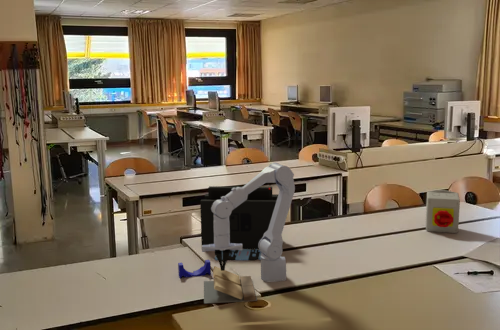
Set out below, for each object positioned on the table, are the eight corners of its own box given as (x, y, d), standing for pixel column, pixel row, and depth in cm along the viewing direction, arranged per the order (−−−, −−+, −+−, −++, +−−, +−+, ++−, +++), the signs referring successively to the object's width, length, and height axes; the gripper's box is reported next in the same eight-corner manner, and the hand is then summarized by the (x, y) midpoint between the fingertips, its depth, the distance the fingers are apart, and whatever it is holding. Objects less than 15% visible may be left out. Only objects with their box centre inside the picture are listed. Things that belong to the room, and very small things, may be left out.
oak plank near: (239, 289, 188) (241, 286, 188) (241, 299, 180) (243, 296, 180) (213, 279, 187) (215, 276, 187) (214, 289, 179) (215, 285, 178)
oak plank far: (237, 279, 199) (239, 275, 199) (239, 287, 190) (240, 284, 190) (212, 269, 197) (214, 266, 197) (213, 277, 189) (215, 274, 189)
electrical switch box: (425, 238, 257) (427, 199, 251) (425, 226, 270) (427, 189, 264) (458, 240, 252) (461, 201, 246) (456, 228, 266) (458, 190, 260)
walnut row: (250, 279, 199) (250, 275, 199) (255, 300, 180) (255, 296, 180) (240, 280, 199) (239, 276, 199) (244, 300, 180) (243, 296, 180)
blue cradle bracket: (208, 273, 210) (208, 258, 209) (210, 277, 205) (210, 262, 204) (178, 276, 206) (177, 261, 205) (179, 280, 202) (179, 265, 201)
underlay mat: (251, 281, 200) (251, 279, 200) (257, 302, 180) (257, 300, 180) (203, 283, 198) (203, 281, 198) (204, 305, 179) (203, 303, 178)
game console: (280, 240, 251) (280, 184, 247) (277, 261, 221) (277, 198, 217) (207, 239, 254) (205, 184, 250) (194, 260, 225) (192, 198, 220)
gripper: (201, 237, 186) (202, 274, 189) (242, 235, 188) (243, 272, 190) (201, 231, 193) (202, 267, 196) (241, 230, 195) (242, 265, 197)
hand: (222, 269), depth 193 cm, fingers closed
